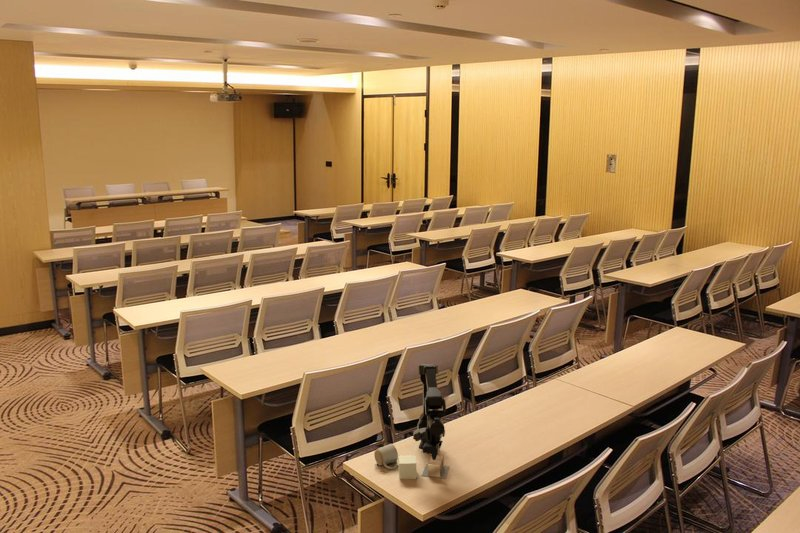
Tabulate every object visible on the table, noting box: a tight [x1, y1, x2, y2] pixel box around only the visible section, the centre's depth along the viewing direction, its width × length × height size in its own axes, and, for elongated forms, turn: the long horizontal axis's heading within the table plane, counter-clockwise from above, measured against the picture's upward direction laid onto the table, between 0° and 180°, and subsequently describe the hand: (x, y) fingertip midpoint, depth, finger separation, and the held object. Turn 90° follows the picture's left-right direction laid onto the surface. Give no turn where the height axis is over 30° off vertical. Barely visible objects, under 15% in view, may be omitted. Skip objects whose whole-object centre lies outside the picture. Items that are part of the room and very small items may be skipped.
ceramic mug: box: [374, 443, 399, 470], centre depth 292 cm, size 11×8×8 cm
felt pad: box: [421, 463, 450, 480], centre depth 286 cm, size 10×10×1 cm
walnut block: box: [427, 454, 445, 478], centre depth 286 cm, size 5×5×9 cm
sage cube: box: [398, 454, 417, 480], centre depth 283 cm, size 7×7×7 cm
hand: (434, 459), depth 281 cm, fingers closed
